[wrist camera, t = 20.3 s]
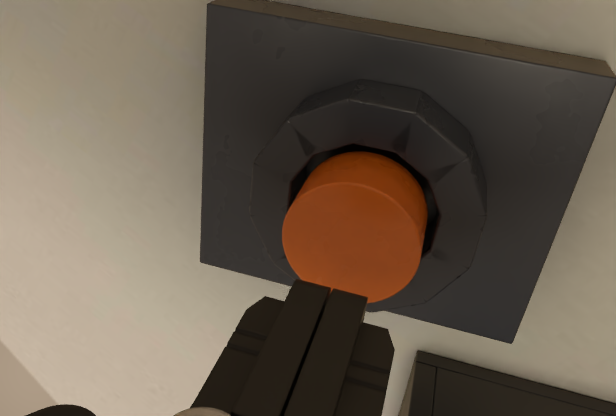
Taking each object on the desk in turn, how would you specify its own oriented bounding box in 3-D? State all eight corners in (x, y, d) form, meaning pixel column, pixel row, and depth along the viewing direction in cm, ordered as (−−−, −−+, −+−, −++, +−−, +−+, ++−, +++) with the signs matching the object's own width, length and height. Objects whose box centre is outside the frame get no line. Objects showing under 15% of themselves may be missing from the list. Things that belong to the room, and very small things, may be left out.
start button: (295, 245, 18) (275, 285, 16) (309, 137, 16) (287, 168, 14) (413, 275, 17) (404, 319, 15) (441, 166, 15) (436, 202, 14)
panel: (217, 238, 22) (177, 292, 19) (228, -7, 18) (177, 15, 15) (510, 312, 20) (514, 384, 18) (606, 60, 16) (635, 101, 13)
